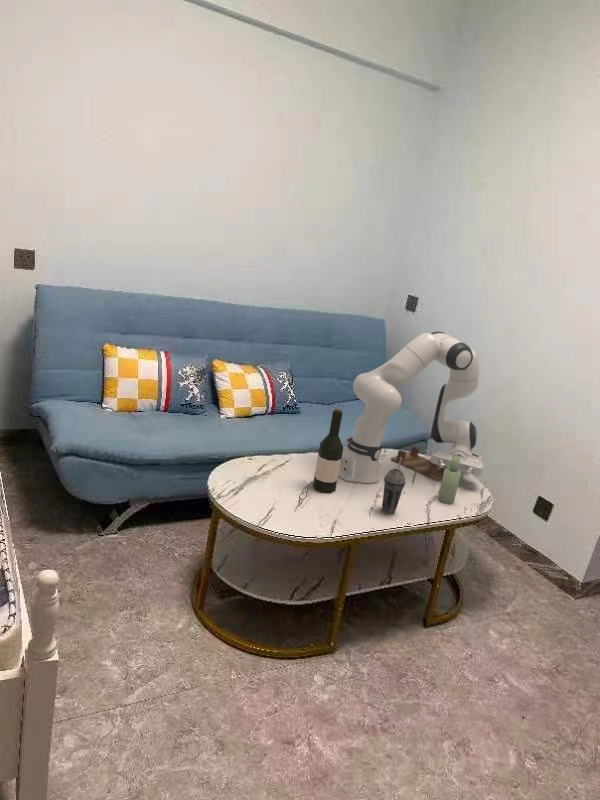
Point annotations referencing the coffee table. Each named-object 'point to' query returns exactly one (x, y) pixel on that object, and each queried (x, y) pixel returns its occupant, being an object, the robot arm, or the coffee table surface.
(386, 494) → the beverage cup
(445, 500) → the olive glass bottle
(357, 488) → the coffee table surface
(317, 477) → the wine bottle
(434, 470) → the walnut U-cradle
